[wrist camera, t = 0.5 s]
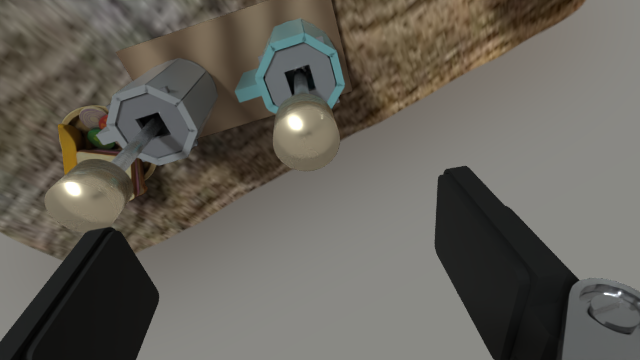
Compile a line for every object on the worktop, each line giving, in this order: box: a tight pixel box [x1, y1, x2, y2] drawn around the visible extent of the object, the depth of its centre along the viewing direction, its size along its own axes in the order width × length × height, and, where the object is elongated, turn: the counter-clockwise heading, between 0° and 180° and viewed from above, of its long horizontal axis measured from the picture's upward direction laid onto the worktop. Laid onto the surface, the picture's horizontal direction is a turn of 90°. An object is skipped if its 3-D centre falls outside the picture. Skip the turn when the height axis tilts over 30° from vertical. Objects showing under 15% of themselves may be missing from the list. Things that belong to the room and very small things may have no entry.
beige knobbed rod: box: [45, 112, 170, 233], centre depth 28 cm, size 5×5×16 cm
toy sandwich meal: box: [58, 106, 157, 201], centre depth 45 cm, size 12×14×5 cm
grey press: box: [96, 58, 218, 166], centre depth 37 cm, size 10×8×12 cm
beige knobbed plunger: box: [273, 65, 340, 171], centre depth 27 cm, size 5×5×16 cm
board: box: [116, 0, 352, 138], centre depth 42 cm, size 26×13×1 cm, turn 106°
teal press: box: [235, 18, 345, 114], centre depth 36 cm, size 10×8×12 cm
